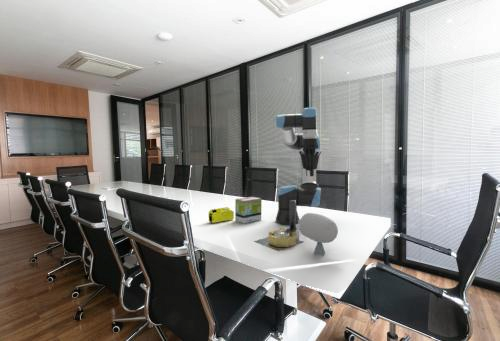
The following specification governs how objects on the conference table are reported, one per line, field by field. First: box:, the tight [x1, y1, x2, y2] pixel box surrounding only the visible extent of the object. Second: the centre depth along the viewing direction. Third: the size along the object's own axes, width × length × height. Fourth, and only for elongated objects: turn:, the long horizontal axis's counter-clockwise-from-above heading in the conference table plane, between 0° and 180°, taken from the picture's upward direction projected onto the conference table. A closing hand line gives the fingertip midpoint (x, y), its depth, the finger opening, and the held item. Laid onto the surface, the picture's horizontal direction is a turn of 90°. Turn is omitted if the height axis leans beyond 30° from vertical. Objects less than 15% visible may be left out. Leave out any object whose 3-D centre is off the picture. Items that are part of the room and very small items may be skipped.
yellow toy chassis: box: [208, 206, 235, 224], centre depth 168 cm, size 16×6×8 cm, turn 125°
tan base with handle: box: [268, 200, 298, 248], centre depth 123 cm, size 16×13×19 cm
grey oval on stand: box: [298, 212, 339, 256], centre depth 111 cm, size 15×20×18 cm
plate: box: [253, 229, 304, 252], centre depth 124 cm, size 17×18×6 cm
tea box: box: [234, 196, 262, 224], centre depth 168 cm, size 15×10×15 cm, turn 131°
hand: (310, 182), depth 137 cm, fingers closed
